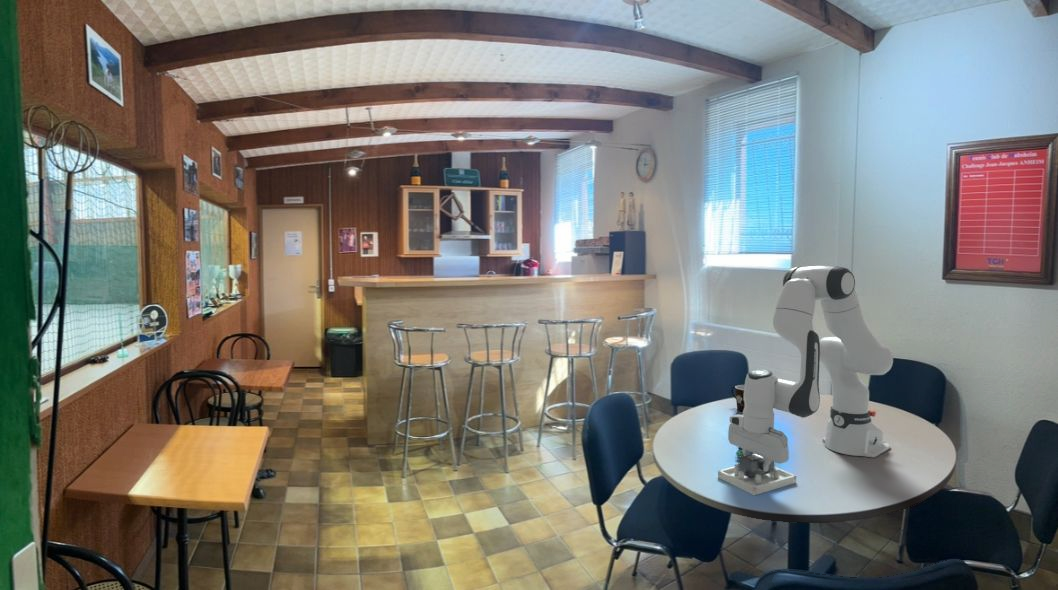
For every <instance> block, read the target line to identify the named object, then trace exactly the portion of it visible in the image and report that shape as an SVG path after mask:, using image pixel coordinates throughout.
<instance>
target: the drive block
mask: <svg viewBox="0 0 1058 590" xmlns="http://www.w3.org/2000/svg"><path fill="white" fill-rule="evenodd" d="M738 458H739V459H738V460H739V461H738V465H739V471H744V476H746V477H749V478H754V477H755V475H756V474H761V475H765V474H769V473H772V472H774V463H775V462H774V461H772V462H771V463H770V465H769V470H768V471H766V472H765V471H763V470H761V464H764V463H765V461H764V457H762V456H759V455H757V454H750V455H747V456H743V457H740V456H739V457H738Z"/></svg>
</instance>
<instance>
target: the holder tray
mask: <svg viewBox="0 0 1058 590" xmlns="http://www.w3.org/2000/svg"><path fill="white" fill-rule="evenodd" d="M775 465H776V462H774V472H772V473H769V474H765V475H761V474H756V475H755V477H754V478H749V477H746V476H744V471H739V463H737V464H734V466H731V467H727V468H723V469H719V470H717V478H719V479H721V480H723V481H724V482H727V483H728V484H731V485H732V486H734V487H736V488H738V489H741V490H743V491H744V492H747V493H748V494H750V495H753V496H757V495H760V494H764V493H766V492H770V491H773V490H776V489H779V488H783V487H786V486H787V487H788V486H790V485H793V484H796V483H797V475H796V474H793V473H790V472H789V471H787V470H784V469H781V468H779V467H777V466H775Z"/></svg>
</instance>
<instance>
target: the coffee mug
mask: <svg viewBox="0 0 1058 590" xmlns="http://www.w3.org/2000/svg"><path fill="white" fill-rule="evenodd" d="M744 385H745V384H740V385H739V384H738V385H735V386H733V387H732V388H731V391H730V392H731V394H732V396H733V397H734V399H735V401H736V410H737V412H740V413H743V410H744V407H745V403H744ZM734 391H735V394H734Z"/></svg>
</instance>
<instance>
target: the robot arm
mask: <svg viewBox="0 0 1058 590" xmlns="http://www.w3.org/2000/svg"><path fill="white" fill-rule="evenodd" d="M782 279H783V280H782V286H783V287H782V289H781V291H780V294H779V296H778V298H777V301H776V306H775V308H774V309H775V310H774V314H773V317H772V318H773V319H772V323H773V324H772V326H773V328H774V330H775V332H776V333H777V334H778V336H780V337H781V338H782V339H784V340H785V341H787V342H788V343H790V344H792V345H793V346H795V347H796V348H797V349H798V350H799V353H800V357H801V358H800V376H799V377H800V379H799V380H798V381H795V380H789V379H784V378H780V377H777V376H775V375H774V373H773V372H772V371H771V370H768V369H753V370H750V371H749V372H748V373H747V374H746V375H745V376H746V377H745V380H744V384H743V385H744V403H745V407H744V410H743V412H742V413H740V414H735V415H730V416H729V423H730V424H728V430H727V431H728V432H727V433H728V435H727V439H728V441H729V442H728V443H729V444H730V445H733V446H736V447H737V448H738V447H740V448H742V449H741V450H742V452H743V454H744V456H747V455H751V454H750V453H749V452H752V453H754V454H757V455H759V456H762V457H764V461H765V463H764V464H761V470H763V471H765V472H766V471H768V470H769V465H770V463H771V462H772V461H774V463H775V464H776V463H777V464H779V465H780V464H784V463H787V462H788V461H789V459H790V454H789V453H790V452H789V444H788V442H789V439H788V437H787V435H785V433H784V432H783V431H781V430H778V429H775V413H774V412H775V411H774V409H775V410H779V411H782V412H785V413H789V414H791V415H793V416H796V417H798V418H799V417H800V418H803V419H804V418H808V417H809V416H812V415H813V414H815V413H816V412H817V411H818V409H819V407H820V405H821V404H820V403H821V399H820V398H821V397H820V386H819V385H820V383H819V382H820V380H819V379H820V363H821V364H822V365H823V366H824V368H825V370H826V371H827V373H828V375H829V378H830V382H831V386H832V387H831V389H832V392H831V394H832V398H831V399H832V401H831V402H832V403H831V404H832V405H831V406H830V411H829V413H830V418H829V419H828V421H827V425H826V430H825V431H826V432H825V437H822V441H823V442H824V445H825V447H826V448H827V449H829V450H830V451H833V452H834V453H835V452H836V453H840V454H842V455H847V456H855V457H867V458H876V457H878V456H879V455H882V454H883V453H885V452H886V451H888V450H890V449H891V445H890V444H889V443H887V442H885V441H884V438H883V437H884V436H883V434H884V433H883V431H882V429H881V428H880V427H878V426H877V425H876V424H875V423H873V421H872V417H873V418H875V417H876V415H877V411H875V410H871V409H869V406H870V405H869V402H870V390H869V388H868V386H867V385H866V384H865V383H864V382H862V380H861V379H860V378H859V376H858V373H860V374H863V375H869V376H884V375H886V374H887V373H888V372H889V371H890V370H891V369H892V367H893V363H894V356H893V353H892V352H891V350H890V348H889V347H887V346H885V345H884V344H882V342H880V341H879V340H878V339H877V338H876V337H875V336H874V335H873V333H872V332H871V331H870V329H869V328H868V326H867V324H866V323H865V321H864V317H863V313H862V310H861V306H860V302H859V298H858V295H857V292H856V289H855V287H856V286H855V285H856V280H855V276H854V274H853V273H852V271H850V269H848V268H847V267H843V266H838V265H837V266H829V265H814V266H796V267H795V266H794V267H792V268H790V269H788V270H787V272H786V273H785V274H784V276H783V278H782ZM819 300H820V304H821V309H822V312H823V316H824V320H825V324H826V328H827V329H828V331H829V333H831V334H832V335H833V336H826V337H825V336H824V337H822V338H821V339H820V337H819V334H818V333H816V332H815V330H814V327H813V319H814V313H815V308H816V301H819Z"/></svg>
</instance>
